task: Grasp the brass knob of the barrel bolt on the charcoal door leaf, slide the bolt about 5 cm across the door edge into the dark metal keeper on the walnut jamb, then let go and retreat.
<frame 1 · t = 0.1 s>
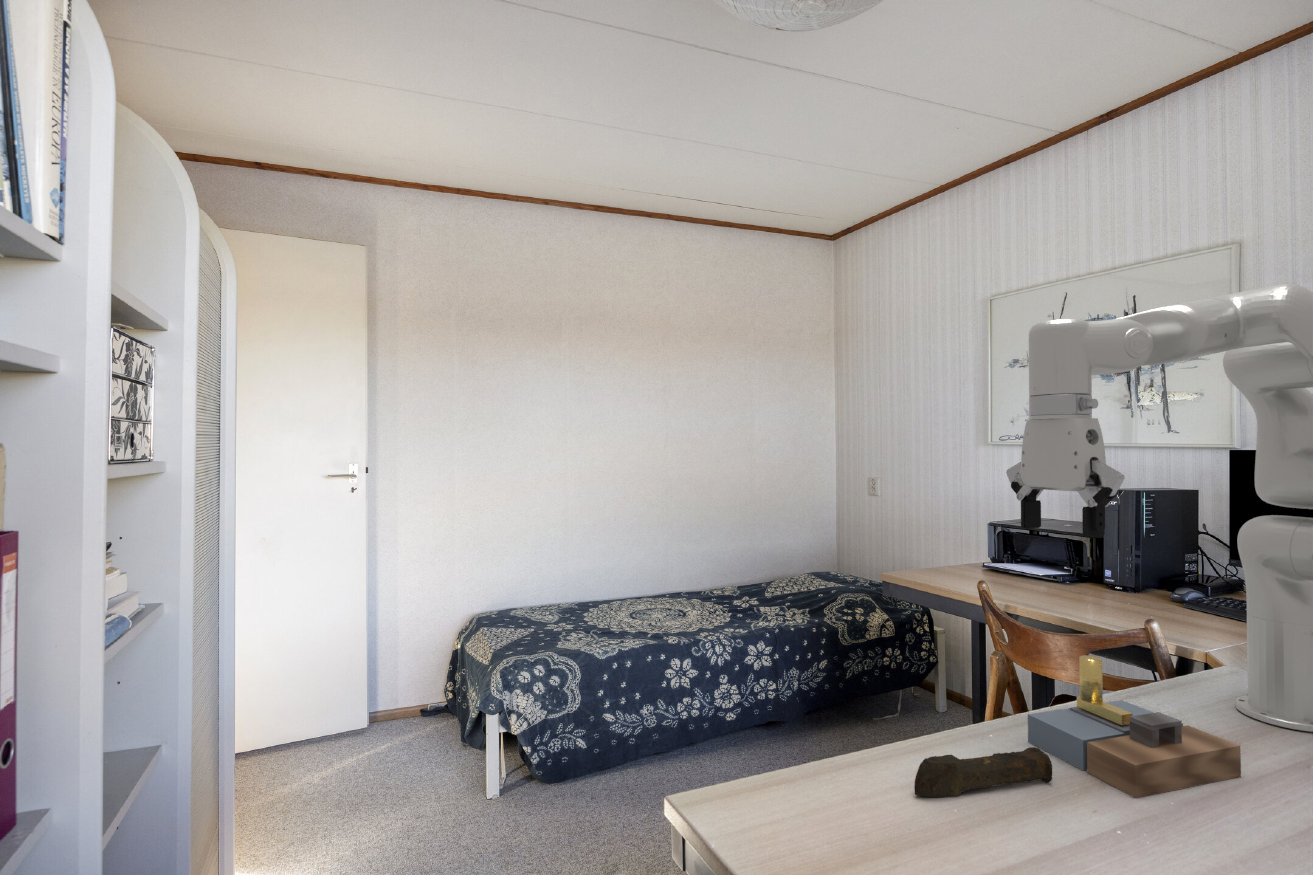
hand: (1060, 532, 94), 31 cm above the table, fingers open, 9 cm apart
door jamb: (1163, 774, 88), on the table
door leaf: (1104, 746, 96), on the table
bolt: (1103, 688, 96), point 8 cm above the table, slide at 0.0 cm
hand tool: (984, 792, 84), on the table
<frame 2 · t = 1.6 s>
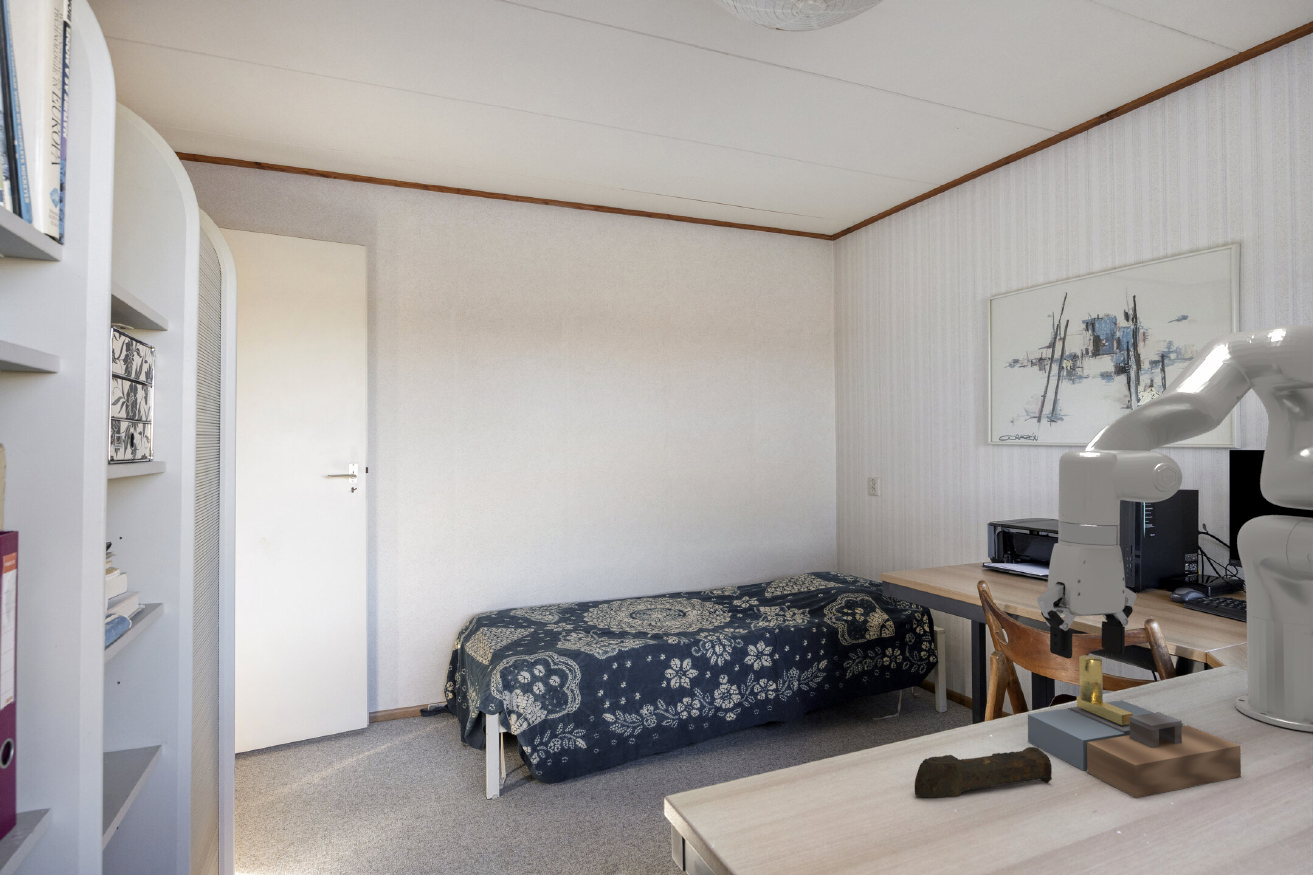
hand: (1087, 653, 98), 13 cm above the table, fingers open, 9 cm apart
nothing on the table moved.
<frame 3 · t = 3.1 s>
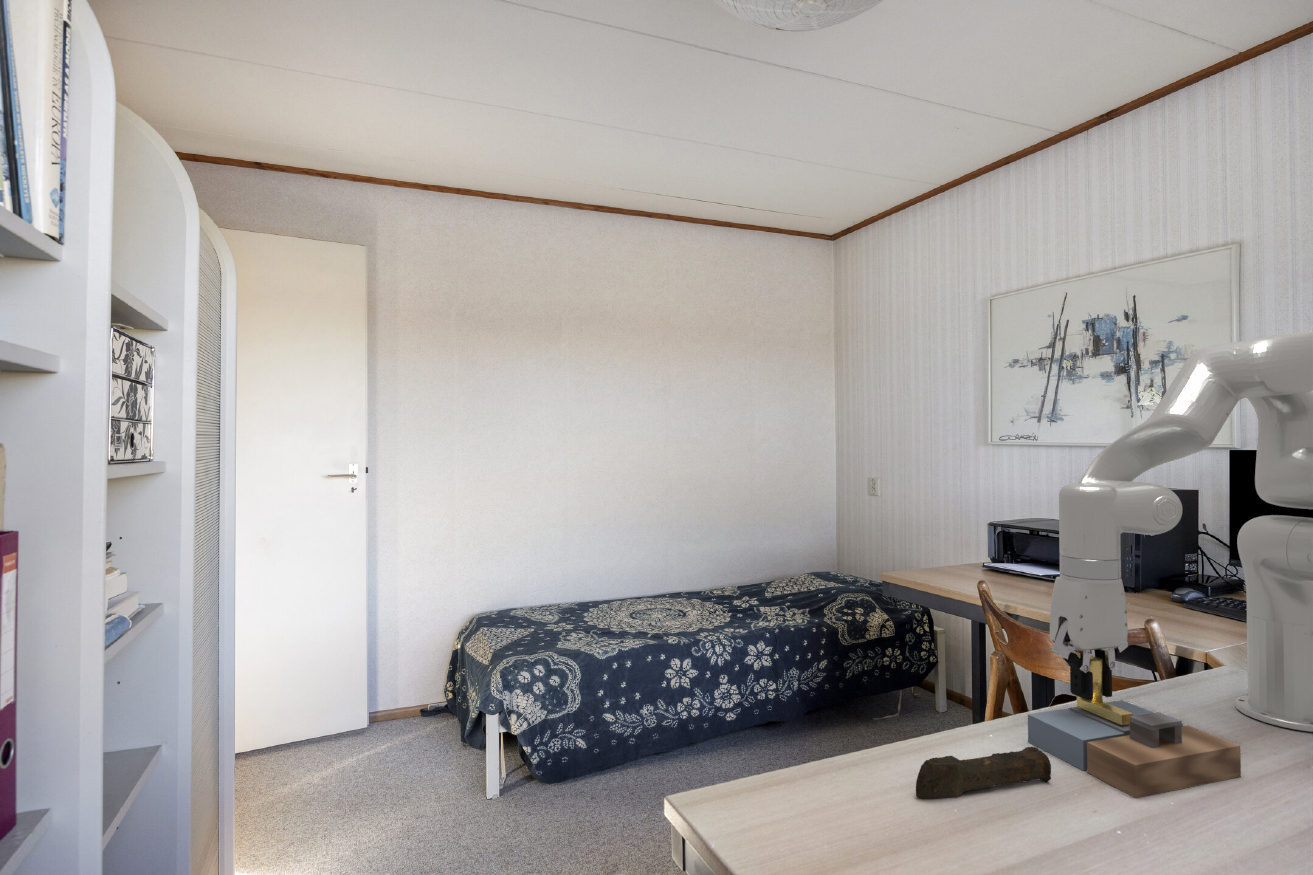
hand: (1091, 694, 98), 7 cm above the table, fingers closed on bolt, 2 cm apart
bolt: (1103, 688, 96), point 8 cm above the table, slide at 0.0 cm, touching gripper
everything else where it was.
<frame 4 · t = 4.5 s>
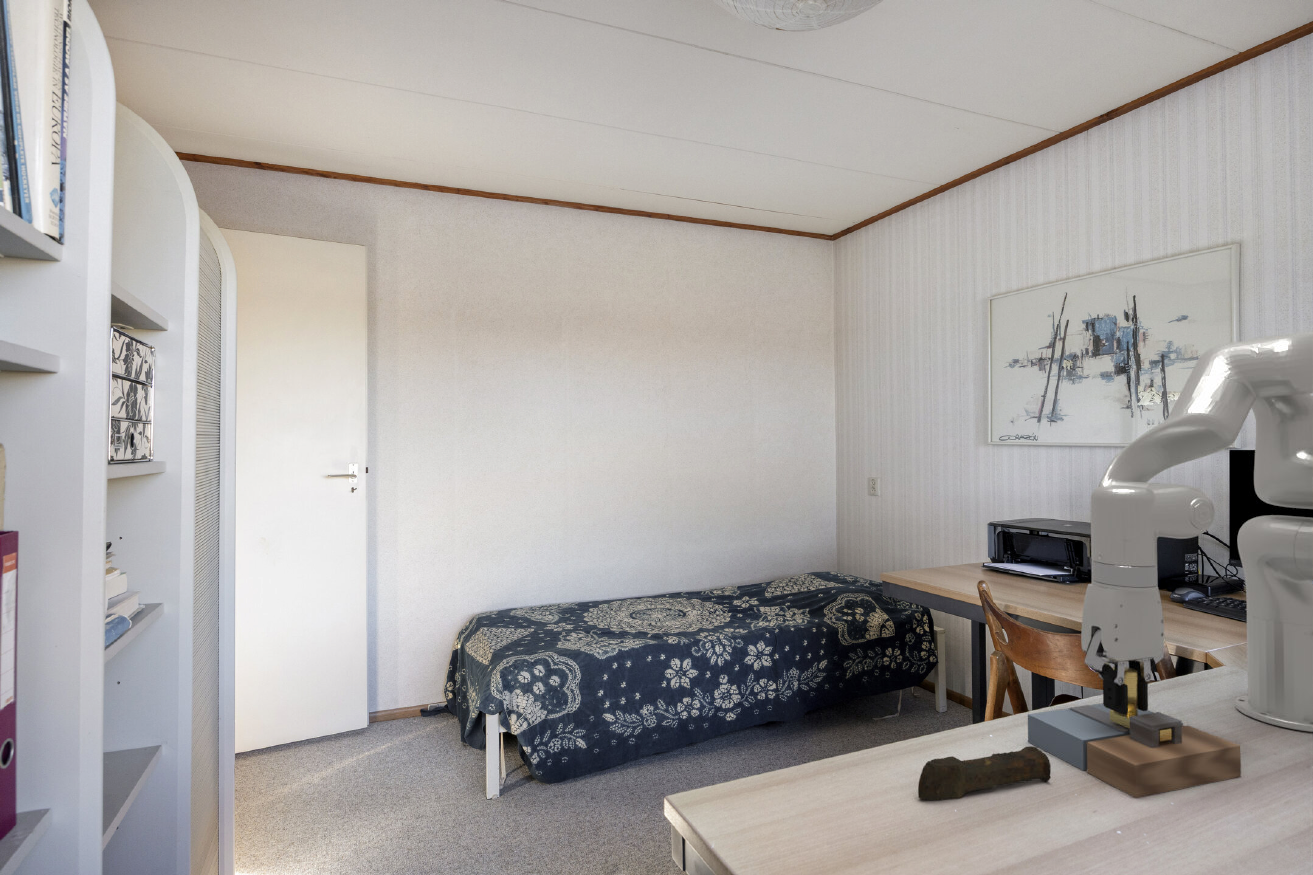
hand: (1125, 707, 93), 7 cm above the table, fingers closed on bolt, 2 cm apart
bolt: (1139, 701, 91), point 8 cm above the table, slide at 5.2 cm, touching gripper
everything else where it was.
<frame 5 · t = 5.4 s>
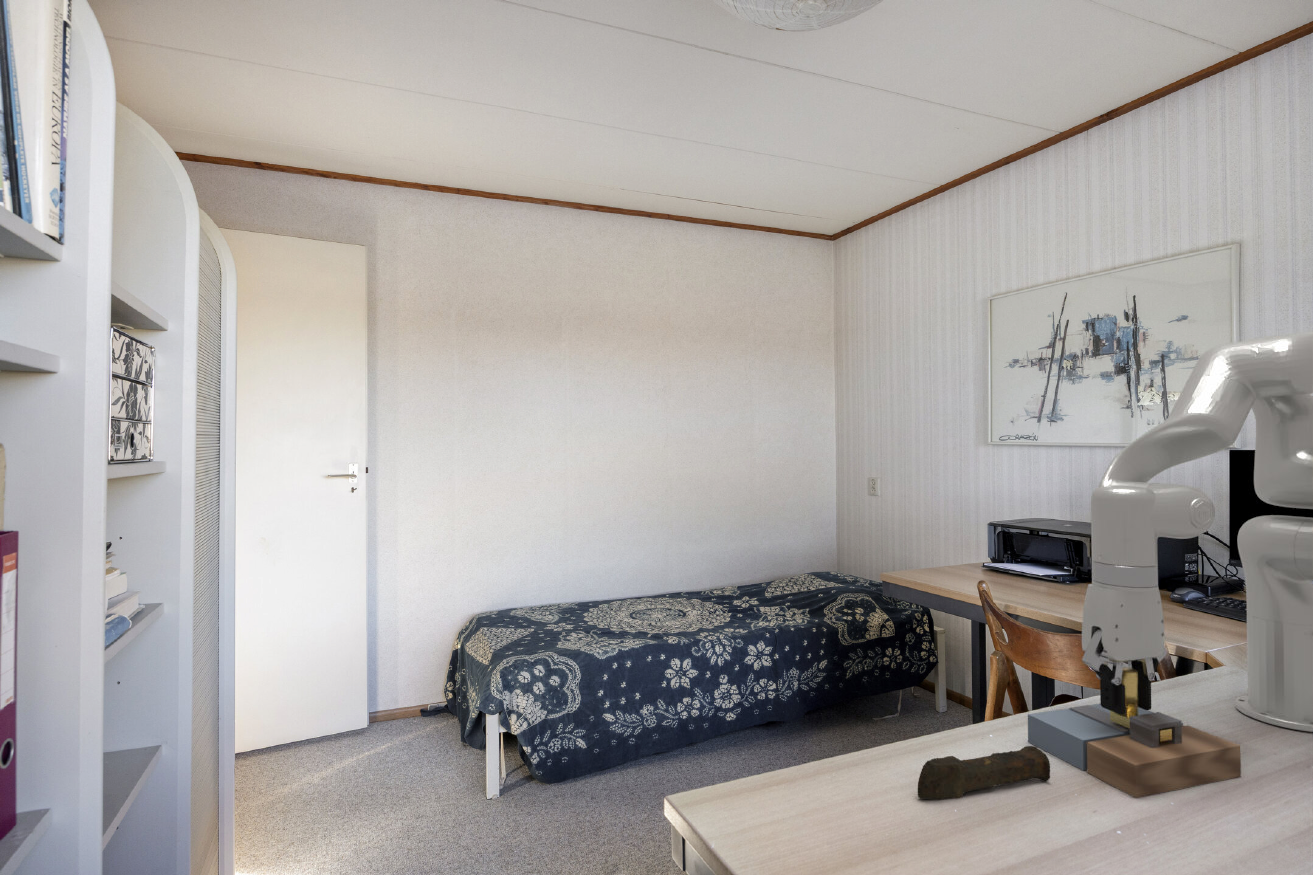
hand: (1125, 707, 93), 7 cm above the table, fingers open, 4 cm apart
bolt: (1139, 702, 91), point 8 cm above the table, slide at 5.3 cm
everything else where it was.
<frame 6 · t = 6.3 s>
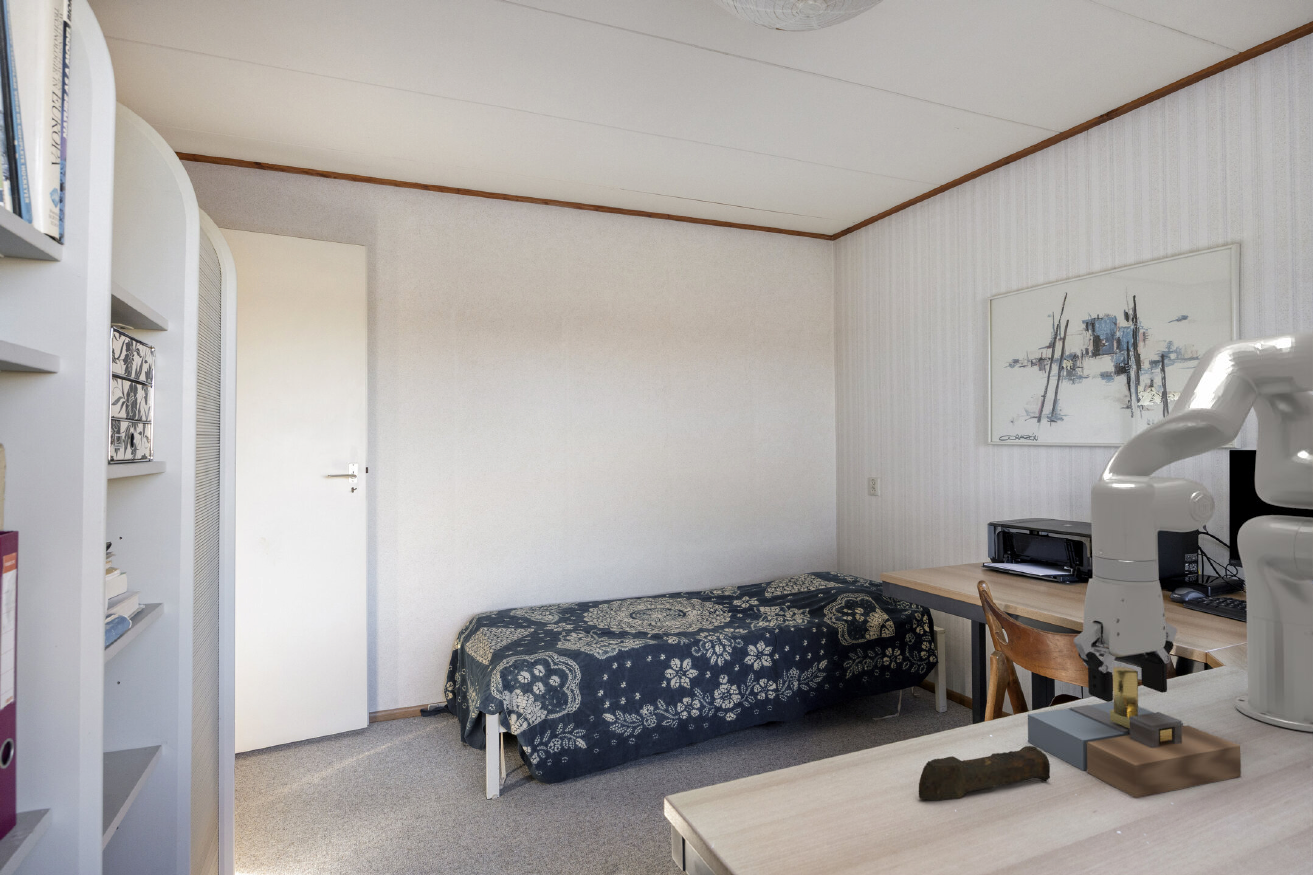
hand: (1127, 693, 93), 9 cm above the table, fingers open, 9 cm apart
nothing on the table moved.
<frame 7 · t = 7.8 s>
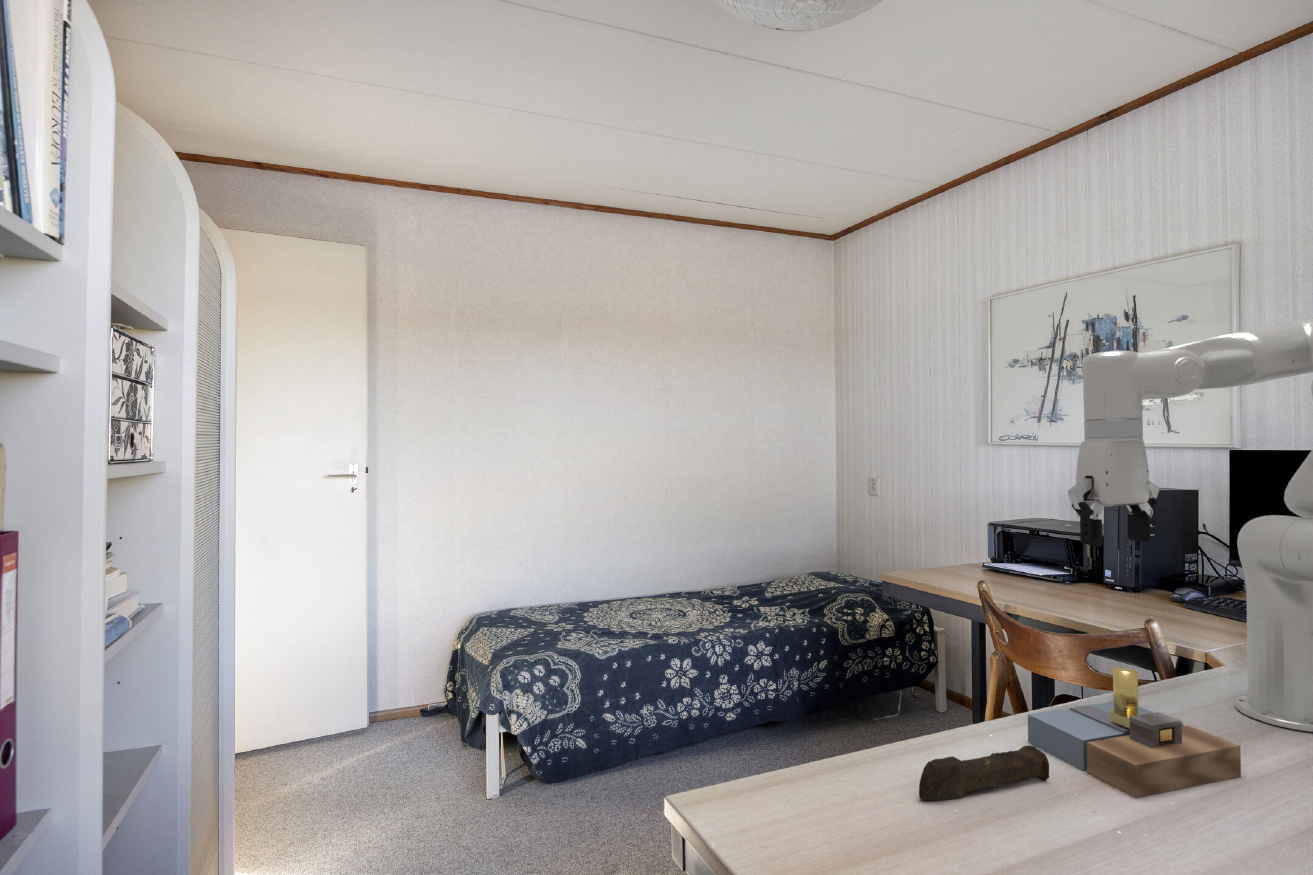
hand: (1115, 542, 104), 28 cm above the table, fingers open, 9 cm apart
nothing on the table moved.
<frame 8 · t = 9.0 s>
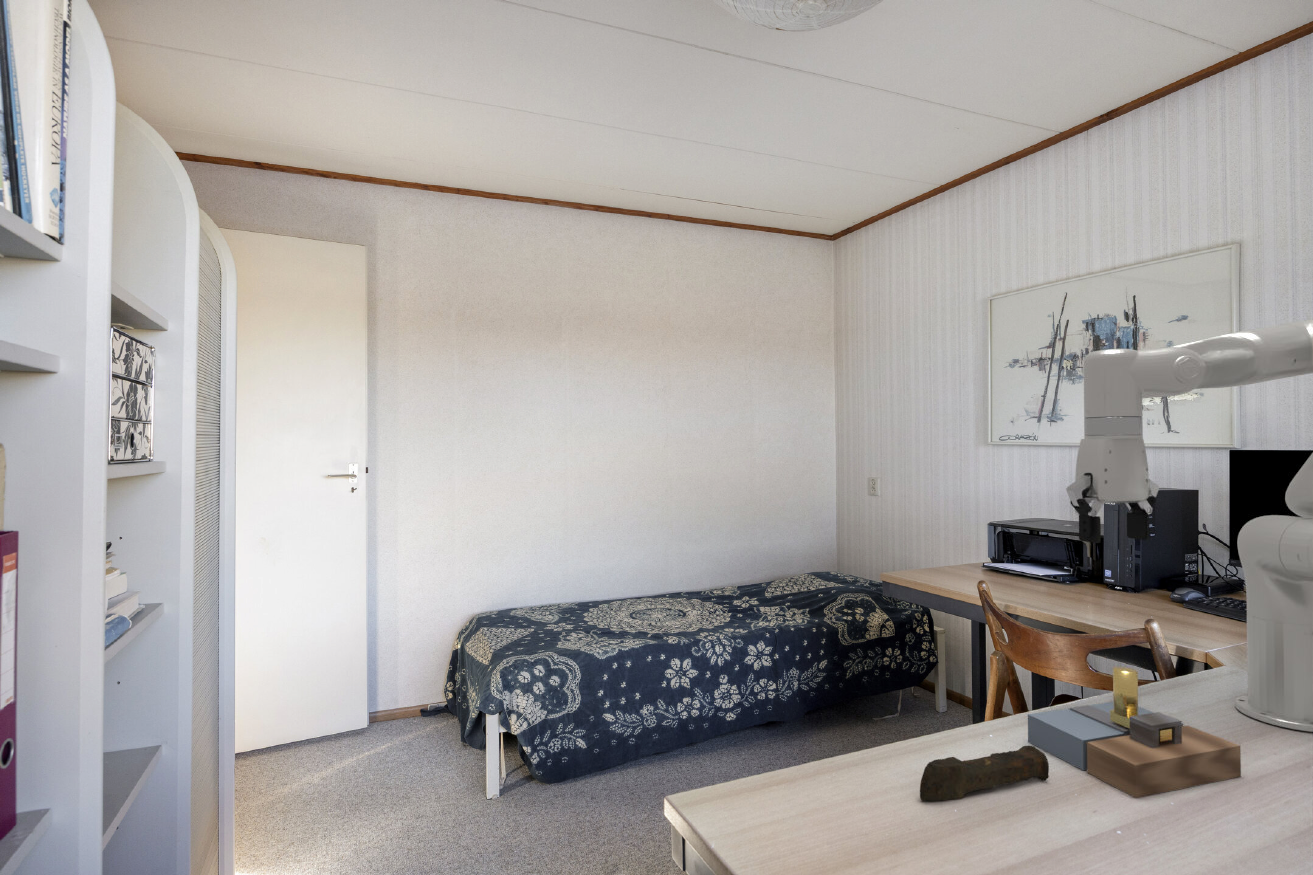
hand: (1114, 540, 104), 28 cm above the table, fingers open, 9 cm apart
nothing on the table moved.
at the end: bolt slide at 5.3 cm; the gripper is holding nothing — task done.
